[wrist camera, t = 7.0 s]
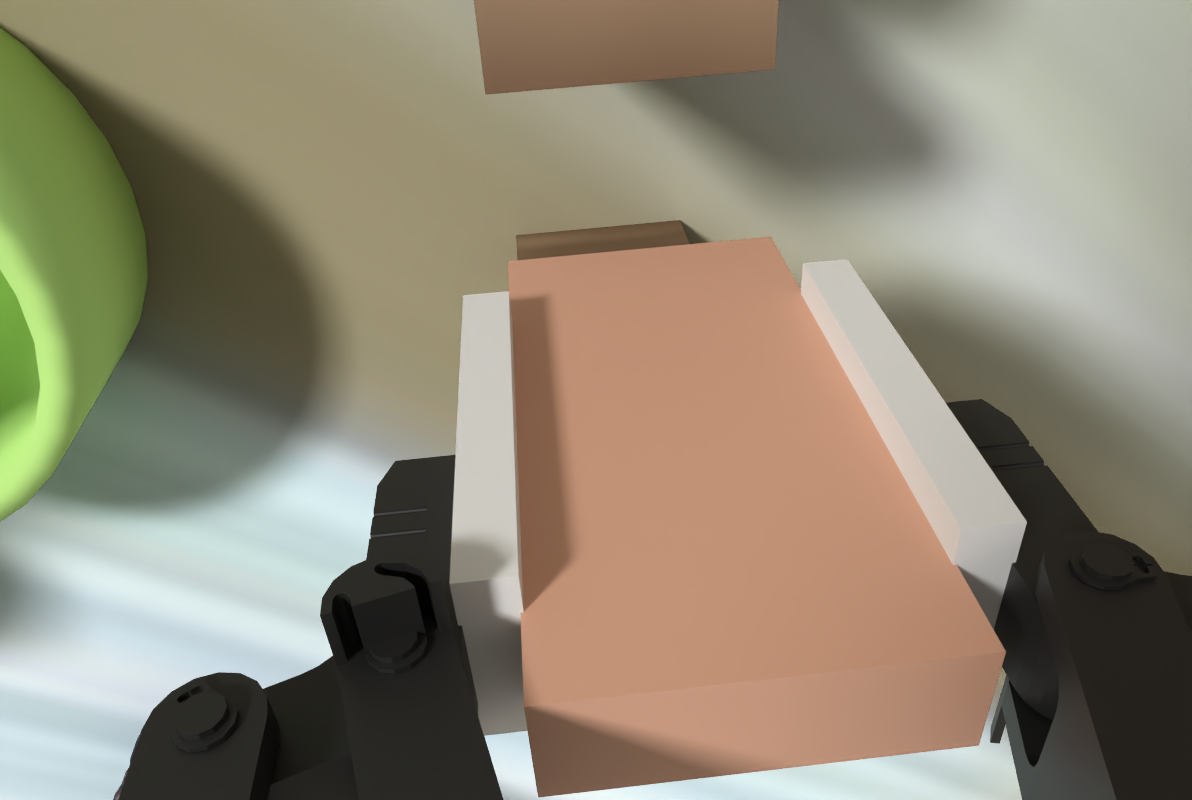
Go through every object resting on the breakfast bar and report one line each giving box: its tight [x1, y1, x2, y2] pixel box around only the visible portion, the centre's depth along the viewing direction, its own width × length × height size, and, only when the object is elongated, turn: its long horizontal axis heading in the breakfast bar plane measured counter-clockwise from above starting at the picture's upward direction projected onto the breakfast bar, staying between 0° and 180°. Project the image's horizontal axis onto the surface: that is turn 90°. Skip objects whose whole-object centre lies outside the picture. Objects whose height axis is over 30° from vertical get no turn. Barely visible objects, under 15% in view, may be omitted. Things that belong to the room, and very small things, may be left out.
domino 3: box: [508, 237, 1006, 797], centre depth 14 cm, size 2×5×10 cm, turn 93°
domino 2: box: [516, 220, 689, 260], centre depth 25 cm, size 2×5×10 cm, turn 93°
